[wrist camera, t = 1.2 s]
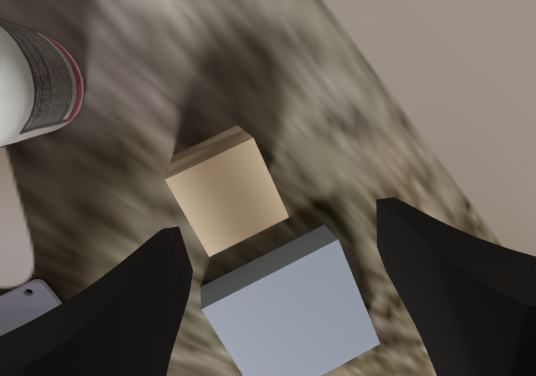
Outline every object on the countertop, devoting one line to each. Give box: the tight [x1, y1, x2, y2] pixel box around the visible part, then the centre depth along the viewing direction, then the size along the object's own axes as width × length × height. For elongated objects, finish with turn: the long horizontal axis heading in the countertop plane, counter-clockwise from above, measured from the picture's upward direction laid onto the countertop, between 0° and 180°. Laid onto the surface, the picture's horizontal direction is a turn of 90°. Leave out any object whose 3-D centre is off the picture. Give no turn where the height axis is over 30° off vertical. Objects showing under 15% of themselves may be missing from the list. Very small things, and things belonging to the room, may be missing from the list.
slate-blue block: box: [201, 225, 380, 376], centre depth 25 cm, size 10×10×3 cm
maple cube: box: [165, 125, 289, 257], centre depth 19 cm, size 4×4×6 cm
